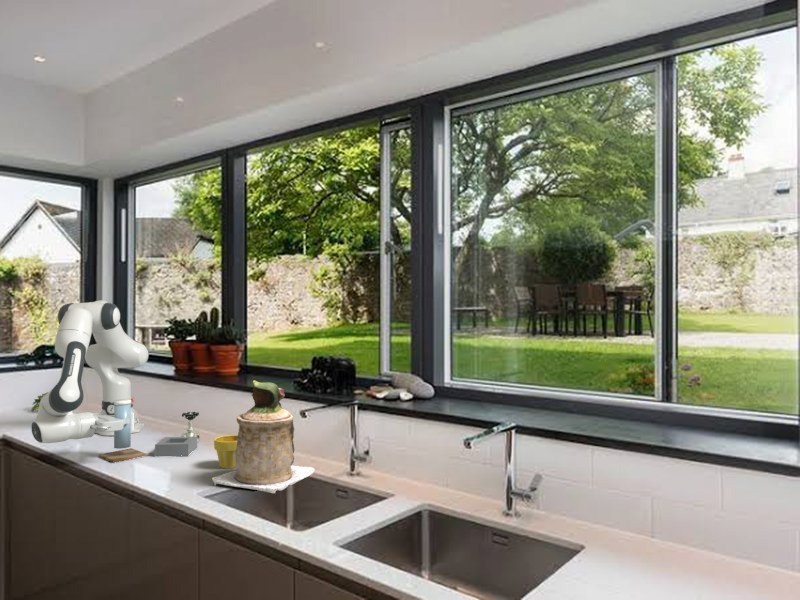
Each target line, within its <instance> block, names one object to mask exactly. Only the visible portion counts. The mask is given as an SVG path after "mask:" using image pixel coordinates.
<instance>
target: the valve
mask: <svg viewBox="0 0 800 600" xmlns="http://www.w3.org/2000/svg"><path fill="white" fill-rule="evenodd" d="M199 416H200V412H196V411H192V412H191V411H187V412H182V414H181V417H184V418H185V419H186V420H188V422H187V426H188V428H186V432H183V433H182V434H181V435H180V437H197V444H198V443H199V442H200V441H201V440H200V439H201V434H199V432H198V433H197V432H195V427H193V424H194V423H193V420H194V419H195V418H196V417H199Z"/></svg>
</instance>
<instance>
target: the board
mask: <svg viewBox="0 0 800 600" xmlns="http://www.w3.org/2000/svg"><path fill="white" fill-rule="evenodd" d="M142 456H145V457H147V453H146V452H143V451H139V450H138V449H134V448H132V447H129V448H124V449H119V450H115V451H109V452H106V453H105V452H104V453H100V454H98V457H99V459H103V460H104V461H105V460H106V461H107V460H108V462H109V461H110V463H112V464H115V462H116V463H120V462H119V461H121V462H125V461H124V460H126V461H129V459H131V460H134V459H133V458H135V459H138V458H137V457H140V458H143V457H142Z"/></svg>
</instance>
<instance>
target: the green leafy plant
mask: <svg viewBox="0 0 800 600" xmlns="http://www.w3.org/2000/svg"><path fill="white" fill-rule="evenodd" d="M48 392H49V391H47V392H45V393H42V394H41V395H37V398H36V399H35V398H34V401H33V402H32V408H31V410H30V411H31V412H32V413H34V411H37V410H39V403H40V400H41V399H42V398H43V396H45V395H46V394H47V393H48Z"/></svg>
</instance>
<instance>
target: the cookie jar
mask: <svg viewBox="0 0 800 600" xmlns="http://www.w3.org/2000/svg"><path fill="white" fill-rule="evenodd" d="M252 385H253V388H252V391H253V392H252V393H251V397H252V399H253V402H254V405H253V407H251V408H250V409H249V410H247V411H246V412H244V413H242V414H241V413H240V414H239V415H238V416H237V417H236V422H237V424H238V433H237V435H238V437H237V447H236V451H235V460H236V467H235V468H236V469H235V470H232V471H229V472H226V473H223V474H220V475H217V476H213V477H212V478H211V479H212V481H213V483H214V487H215V486H217V485H223V486H226V487H227V486H229V487H235V488H241V489H242V488H243V489H248V490H249V489H250V490H255V491H256V490H257V491H261V492H265V493H271V494H276V491H283V490H285V489H286V488H287V487H289V486H292V485H294V484H296V483H298V482H300V481H302V480H303V479H305V478H308V477H309V476H312V475H313V474H314V473H315V468H314V467H310V466H301V465H300V466H298V465H293V464H294V460H295V456H294V454H295V444H294V437H295V436H294V435H295V434H294V433H295V430H296V429H295V426H294V416H293V415H292V414H291V413H290V411H288V410H287V409H285V408H283V407H282V403H281V402H280V401H281V400H284V399H285V390H284V388H281V387H279V386H278V385H277V384H276V383H273V382H268V381H267V382H259V381H257V380H252Z"/></svg>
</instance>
